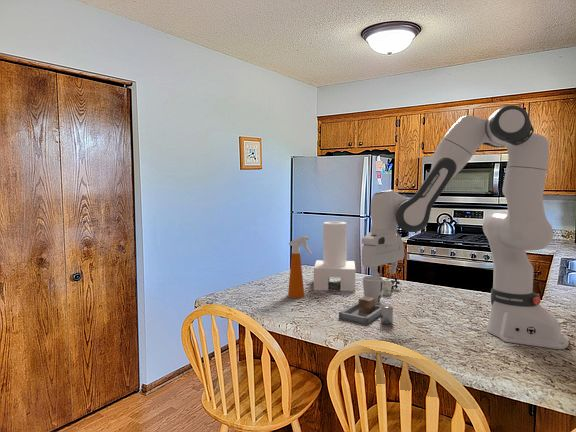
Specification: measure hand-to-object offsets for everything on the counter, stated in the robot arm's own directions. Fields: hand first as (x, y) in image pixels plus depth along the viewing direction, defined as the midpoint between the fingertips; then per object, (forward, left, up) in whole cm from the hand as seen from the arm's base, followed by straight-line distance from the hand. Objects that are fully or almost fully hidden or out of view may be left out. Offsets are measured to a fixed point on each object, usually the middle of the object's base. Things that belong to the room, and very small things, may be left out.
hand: (384, 275), depth 138 cm
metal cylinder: (-2, +2, -16) cm, 16 cm away
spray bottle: (+41, -8, -16) cm, 45 cm away
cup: (+12, -18, -16) cm, 27 cm away
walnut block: (+9, -4, -16) cm, 18 cm away
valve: (+12, -36, -17) cm, 42 cm away
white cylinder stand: (+38, -33, -16) cm, 53 cm away
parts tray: (+9, -1, -16) cm, 18 cm away
